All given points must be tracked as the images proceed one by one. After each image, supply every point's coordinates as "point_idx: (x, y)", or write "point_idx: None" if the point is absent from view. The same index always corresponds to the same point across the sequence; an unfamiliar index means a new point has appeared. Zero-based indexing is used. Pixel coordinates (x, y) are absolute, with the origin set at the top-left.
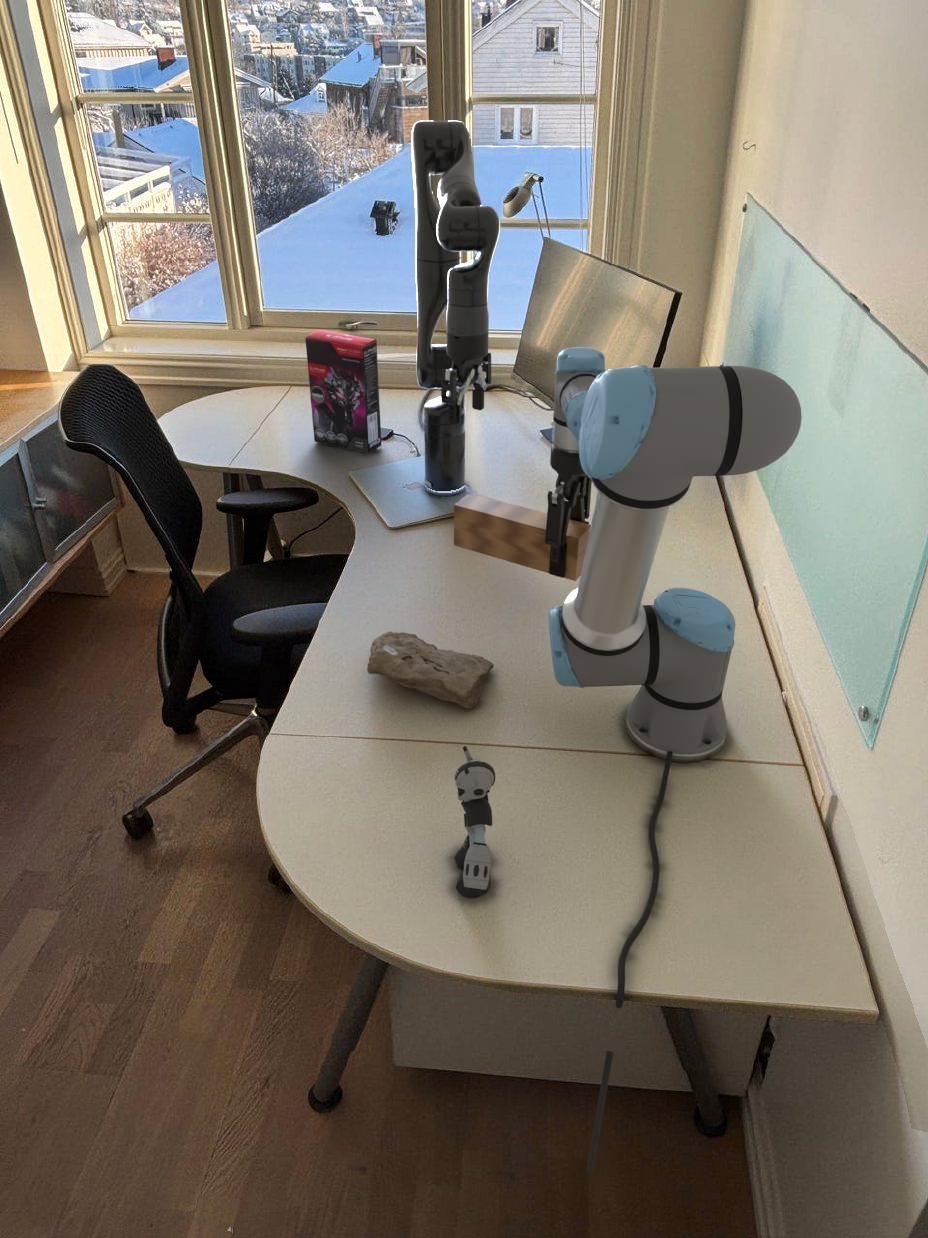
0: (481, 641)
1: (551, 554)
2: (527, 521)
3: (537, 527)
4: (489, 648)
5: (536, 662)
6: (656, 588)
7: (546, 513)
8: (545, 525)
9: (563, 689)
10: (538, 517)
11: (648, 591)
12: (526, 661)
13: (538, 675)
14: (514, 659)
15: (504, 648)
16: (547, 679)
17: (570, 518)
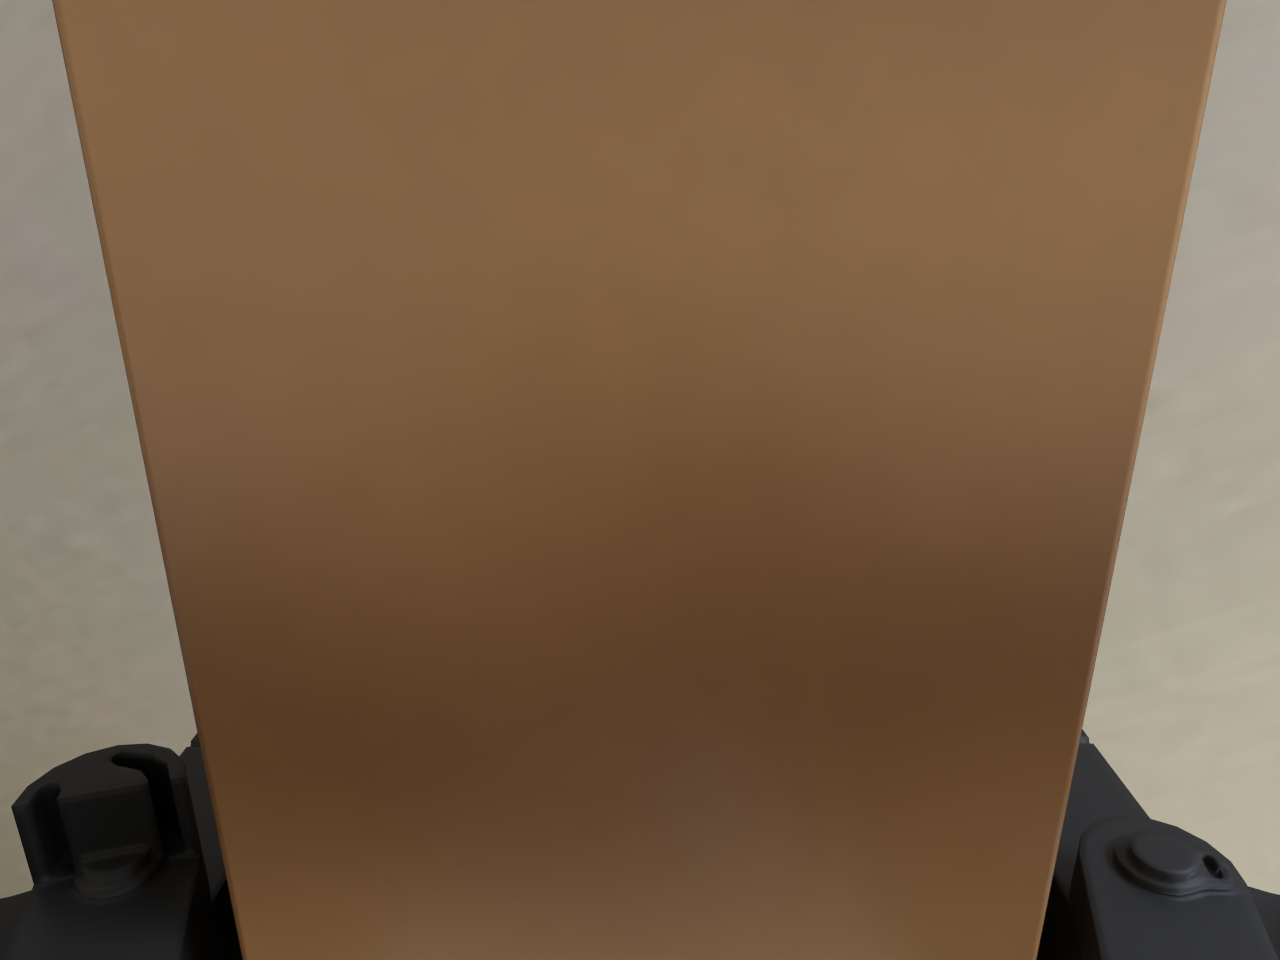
0: (28, 56)
1: (195, 742)
2: (288, 85)
3: (164, 538)
4: (4, 156)
5: (101, 496)
6: (1229, 770)
7: (1111, 385)
8: (403, 666)
9: (5, 714)
10: (735, 289)
11: (1177, 745)
12: (66, 441)
13: (6, 559)
14: (28, 368)
15: (78, 251)
16: (13, 614)
17: (1095, 955)
